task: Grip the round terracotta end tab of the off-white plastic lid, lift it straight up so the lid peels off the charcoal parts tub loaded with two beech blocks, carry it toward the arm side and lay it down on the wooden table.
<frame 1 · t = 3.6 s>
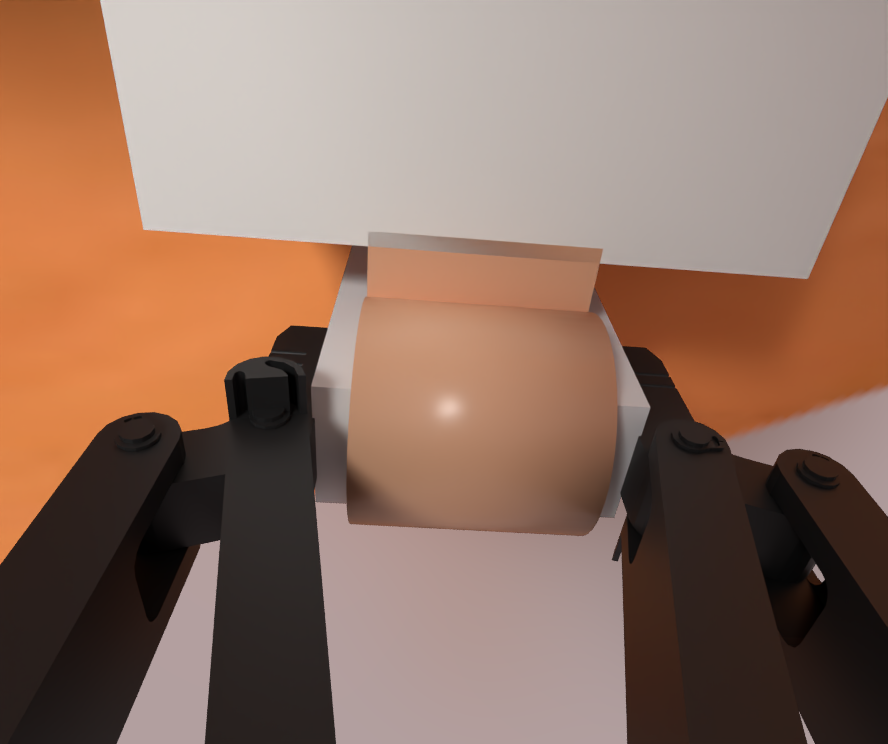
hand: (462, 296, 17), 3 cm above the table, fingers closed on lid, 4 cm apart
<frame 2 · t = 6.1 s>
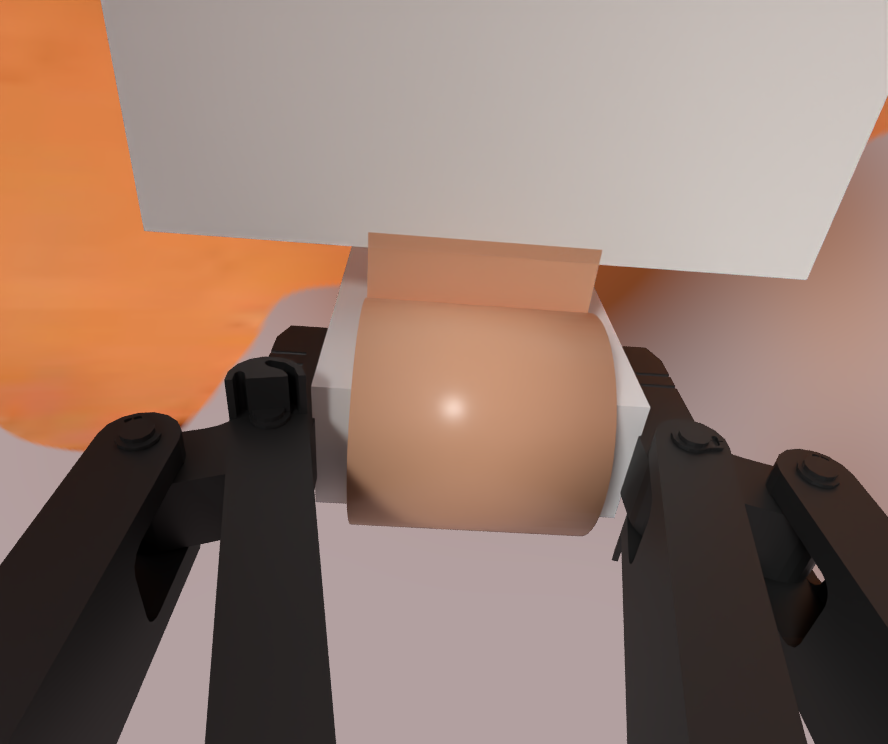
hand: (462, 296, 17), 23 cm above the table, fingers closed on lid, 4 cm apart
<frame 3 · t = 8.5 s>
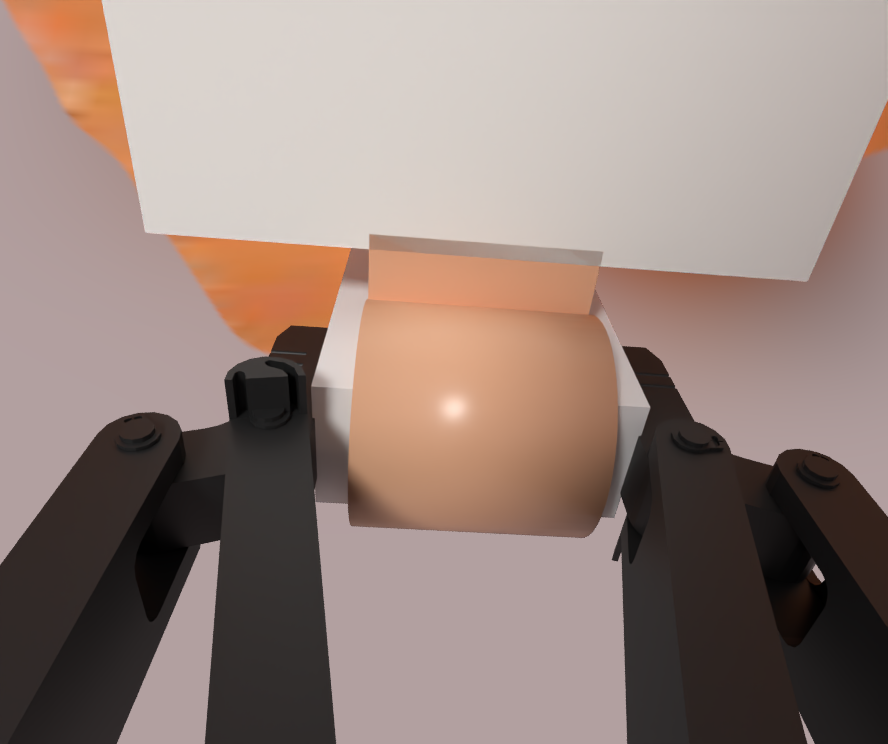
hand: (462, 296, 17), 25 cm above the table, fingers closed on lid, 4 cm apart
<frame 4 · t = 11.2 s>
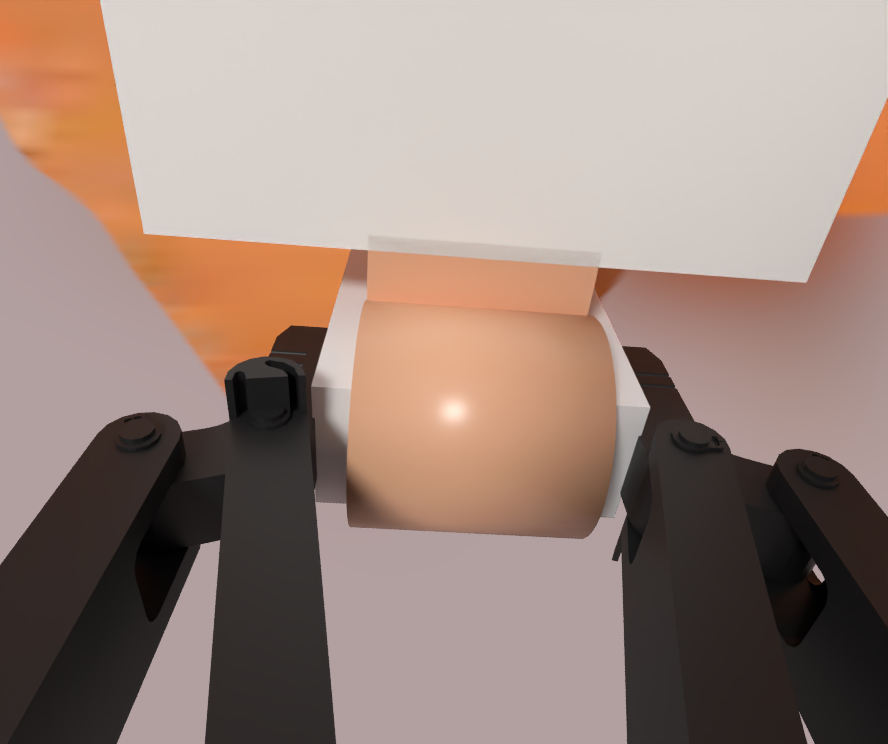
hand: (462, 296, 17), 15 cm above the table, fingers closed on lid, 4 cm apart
when the fingers open (14 cm above the table, at t = 13.4 s): lid drops 17 cm, on the table.
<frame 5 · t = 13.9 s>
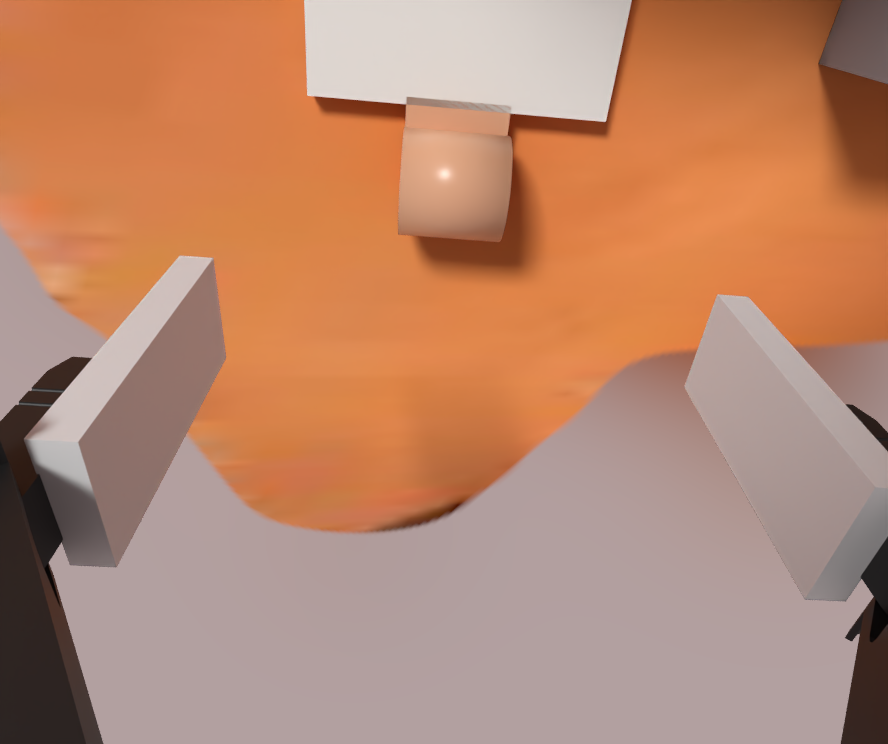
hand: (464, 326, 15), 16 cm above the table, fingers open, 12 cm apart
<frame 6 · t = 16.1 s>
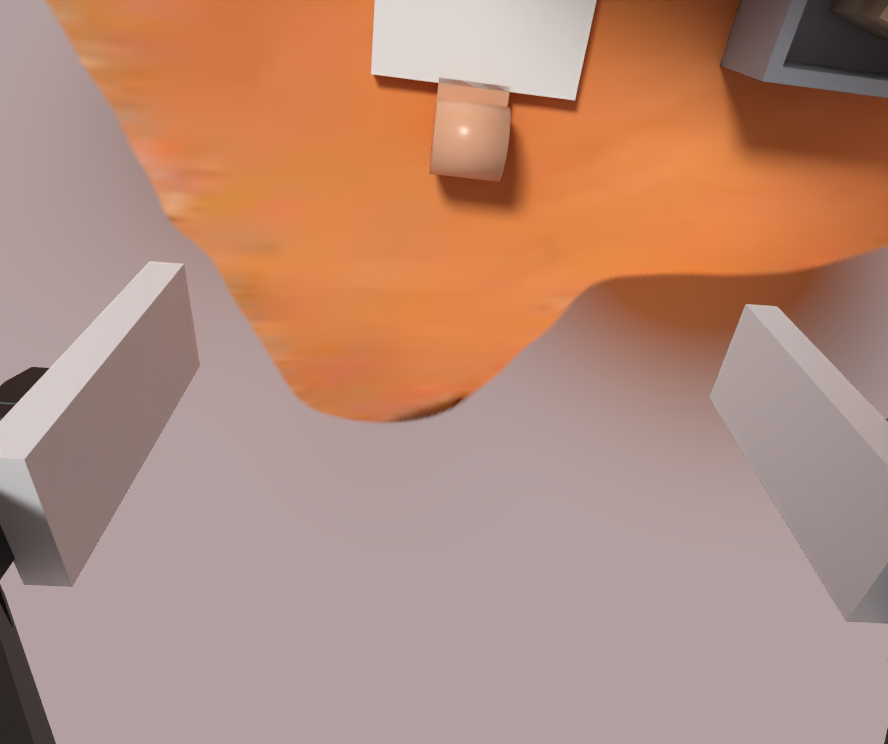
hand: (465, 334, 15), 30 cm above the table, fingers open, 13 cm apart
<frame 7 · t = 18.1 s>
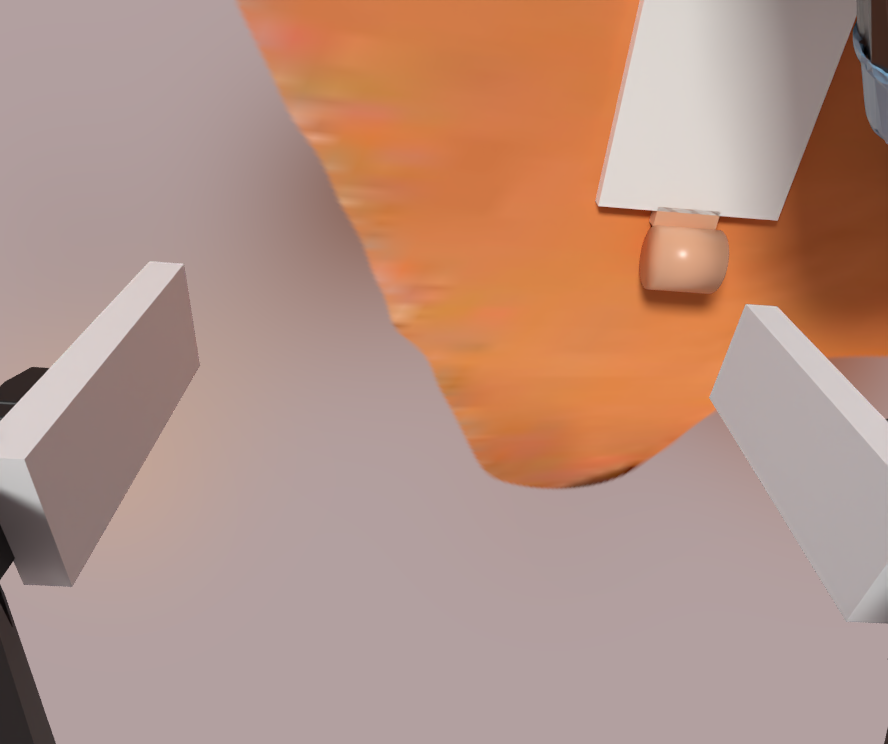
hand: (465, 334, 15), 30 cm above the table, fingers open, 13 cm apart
lid: (722, 79, 40), on the table
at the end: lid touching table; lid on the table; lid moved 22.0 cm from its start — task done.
